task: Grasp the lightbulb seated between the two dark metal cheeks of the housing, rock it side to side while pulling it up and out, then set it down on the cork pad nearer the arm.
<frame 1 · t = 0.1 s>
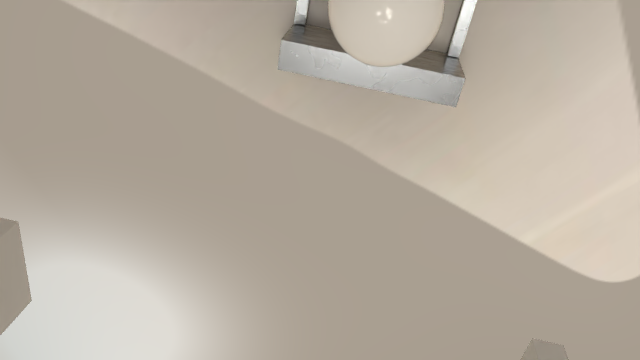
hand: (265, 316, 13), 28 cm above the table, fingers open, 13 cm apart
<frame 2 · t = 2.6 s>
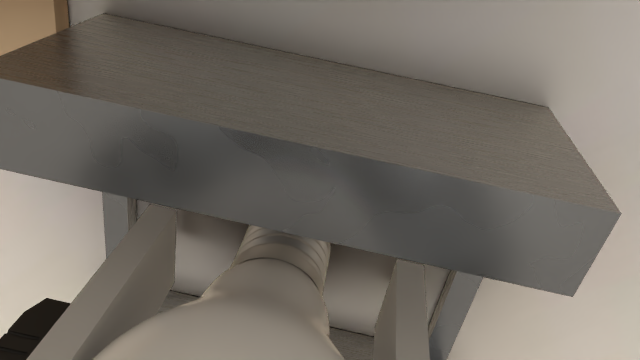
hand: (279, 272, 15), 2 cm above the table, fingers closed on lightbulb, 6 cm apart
housing: (292, 232, 16), on the table
lightbulb: (293, 229, 16), resting in housing, touching gripper
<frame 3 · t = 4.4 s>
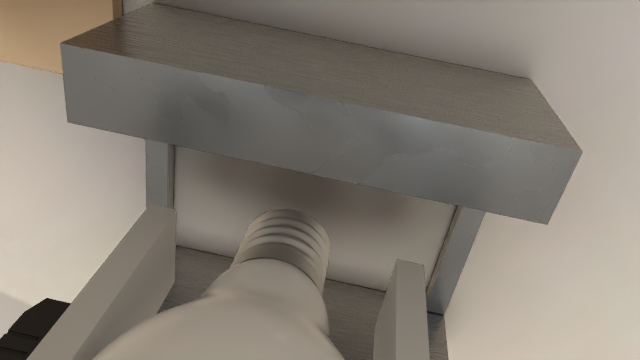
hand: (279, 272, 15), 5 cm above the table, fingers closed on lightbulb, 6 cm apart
housing: (310, 195, 19), on the table
lightbulb: (292, 228, 16), point 2 cm above the table, touching gripper
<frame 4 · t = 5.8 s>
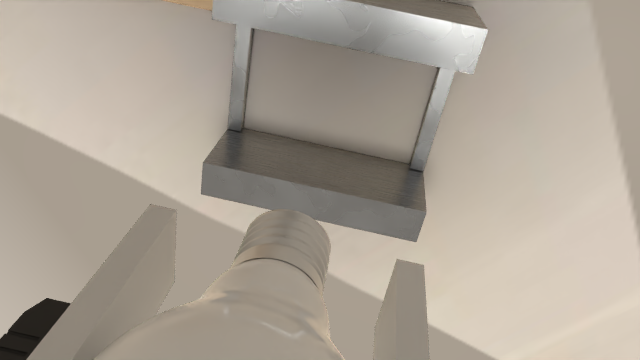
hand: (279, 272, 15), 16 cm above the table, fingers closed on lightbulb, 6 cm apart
housing: (337, 88, 29), on the table
lightbulb: (293, 229, 16), point 14 cm above the table, touching gripper
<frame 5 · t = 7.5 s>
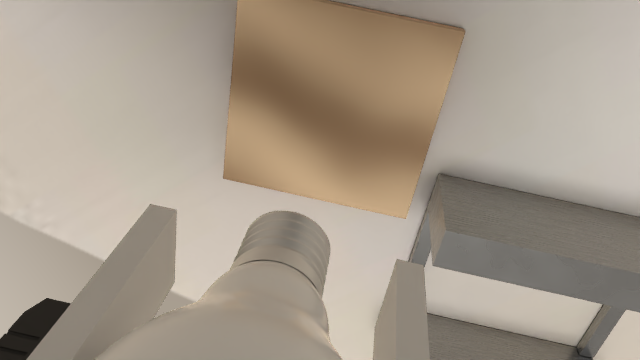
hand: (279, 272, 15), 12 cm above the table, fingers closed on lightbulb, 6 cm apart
cork pad: (332, 108, 25), on the table
housing: (513, 282, 29), on the table
lightbulb: (292, 230, 16), point 10 cm above the table, touching gripper
when the fingers open (4 cm above the table, at t = 9.0 s): lightbulb drops 1 cm, resting on cork pad.
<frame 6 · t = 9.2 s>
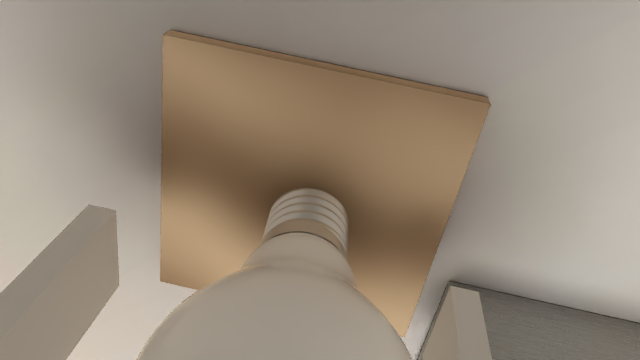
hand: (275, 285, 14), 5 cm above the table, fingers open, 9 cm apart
cork pad: (303, 197, 18), on the table
lightbulb: (311, 207, 18), resting on cork pad
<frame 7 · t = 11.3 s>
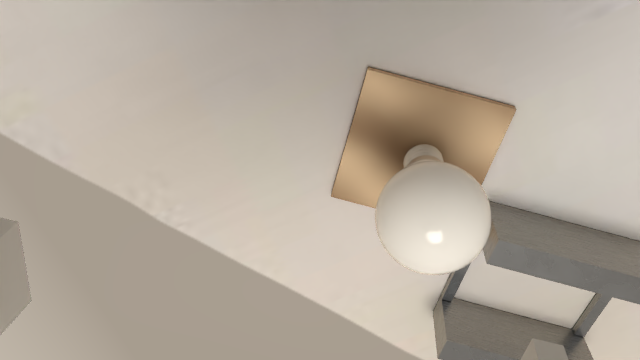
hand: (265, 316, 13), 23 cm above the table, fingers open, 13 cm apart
cork pad: (416, 152, 36), on the table
housing: (530, 279, 40), on the table
lightbulb: (422, 156, 35), resting on cork pad
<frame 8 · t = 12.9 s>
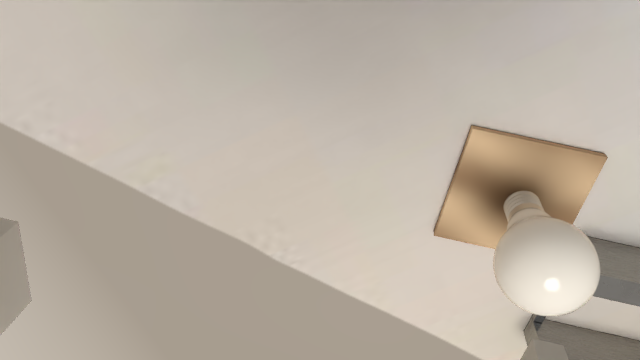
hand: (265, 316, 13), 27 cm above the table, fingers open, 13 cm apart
cork pad: (513, 195, 40), on the table
housing: (616, 301, 44), on the table
lightbulb: (519, 199, 40), resting on cork pad
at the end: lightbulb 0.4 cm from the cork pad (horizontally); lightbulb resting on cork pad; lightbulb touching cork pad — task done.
